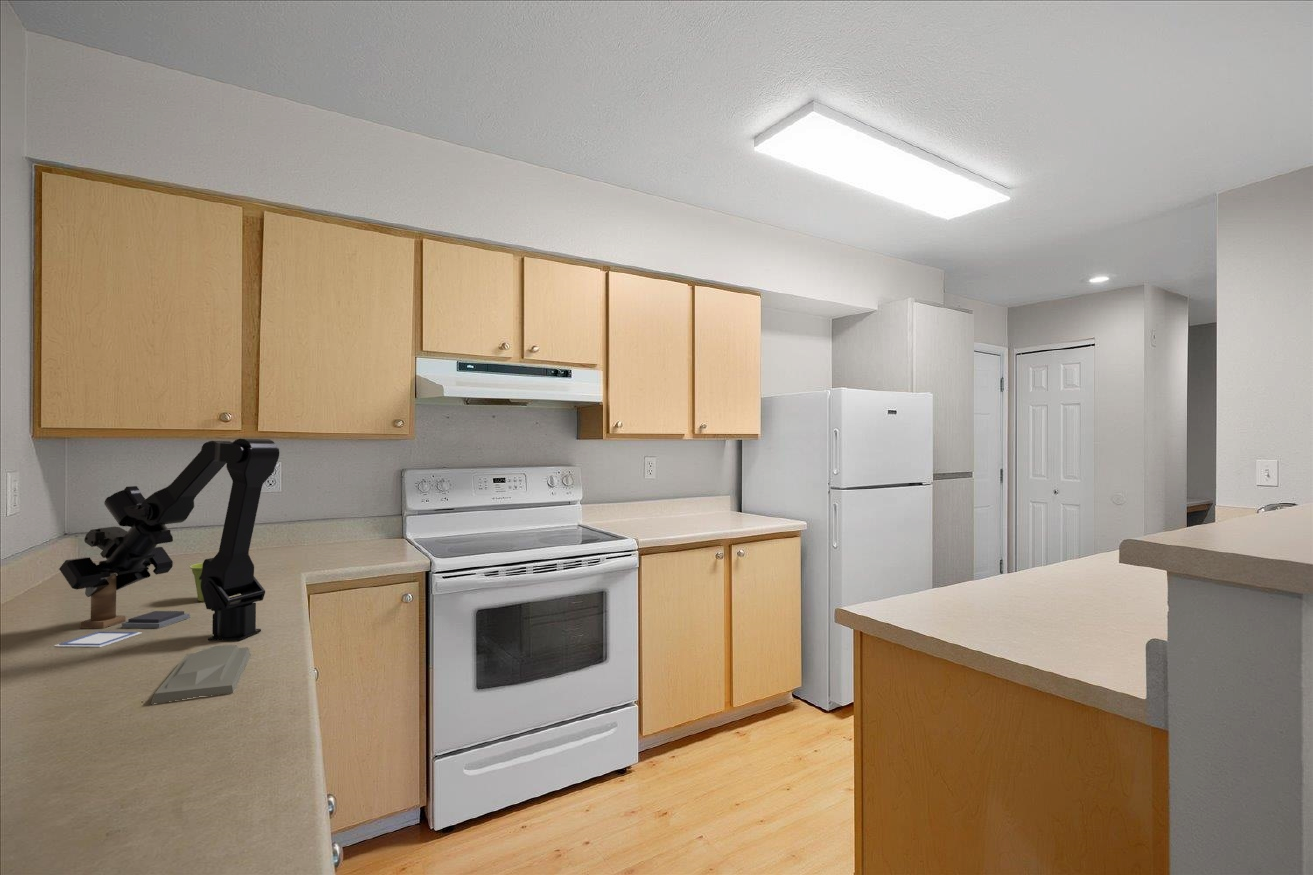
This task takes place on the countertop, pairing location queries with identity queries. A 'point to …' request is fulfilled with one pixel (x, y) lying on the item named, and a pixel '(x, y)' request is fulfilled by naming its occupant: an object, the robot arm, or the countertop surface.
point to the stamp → (104, 607)
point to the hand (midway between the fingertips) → (98, 592)
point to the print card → (98, 639)
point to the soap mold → (205, 674)
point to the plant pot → (197, 573)
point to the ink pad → (155, 619)
